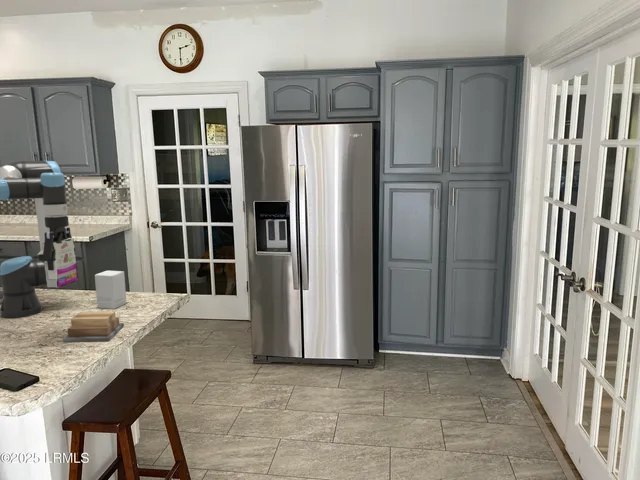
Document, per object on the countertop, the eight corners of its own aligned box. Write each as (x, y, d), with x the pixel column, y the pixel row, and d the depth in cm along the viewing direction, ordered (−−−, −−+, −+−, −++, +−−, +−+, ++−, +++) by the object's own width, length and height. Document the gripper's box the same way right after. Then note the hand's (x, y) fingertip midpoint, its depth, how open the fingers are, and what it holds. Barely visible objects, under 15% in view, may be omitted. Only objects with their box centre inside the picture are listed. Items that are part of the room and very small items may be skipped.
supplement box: (127, 303, 223) (125, 271, 221) (114, 309, 215) (112, 275, 212) (109, 301, 225) (107, 269, 223) (96, 307, 217) (93, 274, 214)
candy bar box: (66, 280, 188) (62, 237, 185) (78, 280, 187) (74, 237, 184) (45, 287, 177) (41, 242, 174) (58, 288, 176) (53, 242, 173)
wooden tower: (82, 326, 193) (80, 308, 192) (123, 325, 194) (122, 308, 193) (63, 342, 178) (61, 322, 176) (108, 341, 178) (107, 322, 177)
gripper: (49, 219, 166) (55, 282, 170) (81, 212, 190) (86, 267, 193) (26, 220, 166) (33, 283, 170) (62, 212, 190) (67, 267, 193)
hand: (61, 274), depth 181 cm, fingers closed on candy bar box, 12 cm apart
